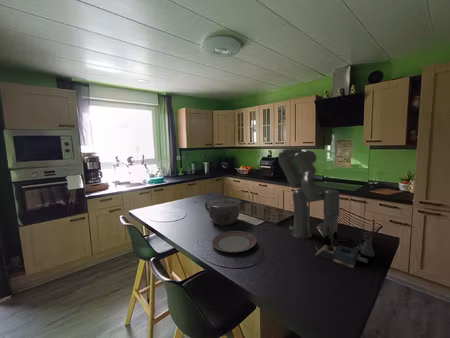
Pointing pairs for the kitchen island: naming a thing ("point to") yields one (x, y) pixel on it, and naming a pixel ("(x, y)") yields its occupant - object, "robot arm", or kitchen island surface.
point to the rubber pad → (326, 255)
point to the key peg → (331, 243)
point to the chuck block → (347, 255)
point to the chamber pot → (223, 210)
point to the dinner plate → (234, 241)
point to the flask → (367, 247)
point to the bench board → (335, 259)
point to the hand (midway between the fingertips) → (330, 241)
